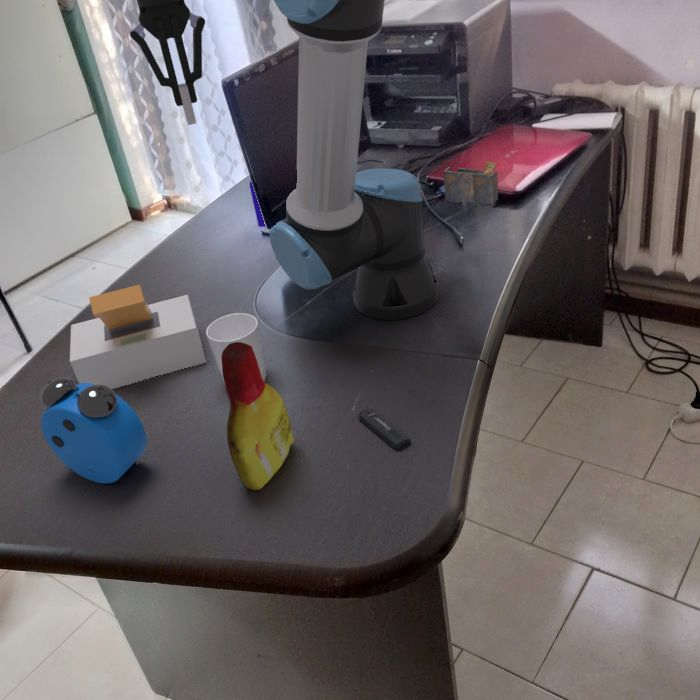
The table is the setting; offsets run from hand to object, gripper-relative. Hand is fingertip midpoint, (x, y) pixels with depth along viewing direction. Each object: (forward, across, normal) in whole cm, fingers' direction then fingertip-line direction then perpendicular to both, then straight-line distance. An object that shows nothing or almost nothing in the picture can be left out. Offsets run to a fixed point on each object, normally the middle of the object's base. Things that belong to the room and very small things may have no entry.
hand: (191, 122), depth 132 cm
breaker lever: (+22, +19, +25) cm, 39 cm away
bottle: (+31, +5, +61) cm, 68 cm away
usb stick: (+31, -12, +61) cm, 69 cm away
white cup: (+31, +4, +39) cm, 50 cm away
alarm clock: (+31, +26, +52) cm, 65 cm away
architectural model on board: (+31, -55, -3) cm, 63 cm away
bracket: (+31, -20, -22) cm, 43 cm away
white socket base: (+30, +19, +25) cm, 44 cm away
